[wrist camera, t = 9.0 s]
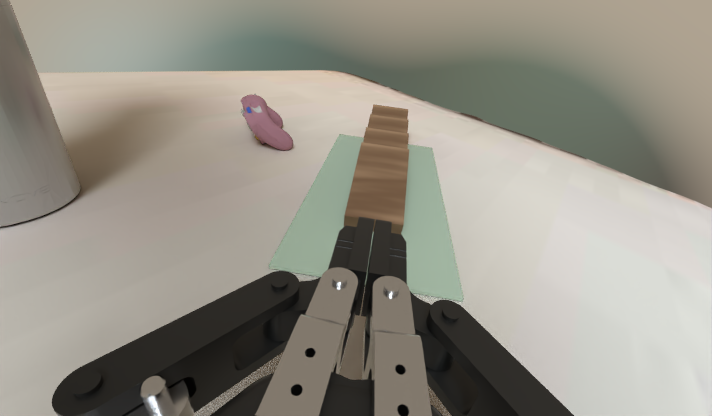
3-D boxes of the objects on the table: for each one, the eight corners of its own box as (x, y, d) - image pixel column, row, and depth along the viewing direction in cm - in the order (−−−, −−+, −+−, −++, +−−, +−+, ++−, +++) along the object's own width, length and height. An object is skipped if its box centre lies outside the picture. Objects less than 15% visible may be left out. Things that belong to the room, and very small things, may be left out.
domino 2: (403, 172, 36) (408, 119, 42) (359, 166, 36) (370, 114, 42) (401, 182, 37) (406, 129, 43) (358, 176, 37) (369, 124, 44)
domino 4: (403, 225, 27) (409, 149, 33) (344, 215, 27) (361, 142, 34) (400, 236, 28) (406, 160, 34) (343, 227, 28) (360, 153, 35)
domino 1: (403, 155, 40) (408, 109, 46) (364, 149, 40) (373, 104, 46) (401, 165, 41) (406, 118, 47) (363, 159, 41) (372, 114, 48)
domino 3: (403, 195, 31) (408, 133, 38) (352, 187, 31) (366, 127, 38) (400, 206, 32) (406, 144, 39) (351, 198, 33) (365, 138, 39)
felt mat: (462, 301, 23) (463, 298, 23) (269, 268, 23) (268, 265, 23) (431, 149, 48) (432, 147, 48) (339, 136, 49) (339, 134, 49)
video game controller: (257, 137, 49) (231, 94, 45) (284, 123, 50) (261, 80, 45) (265, 164, 42) (235, 116, 37) (296, 148, 42) (270, 98, 38)
